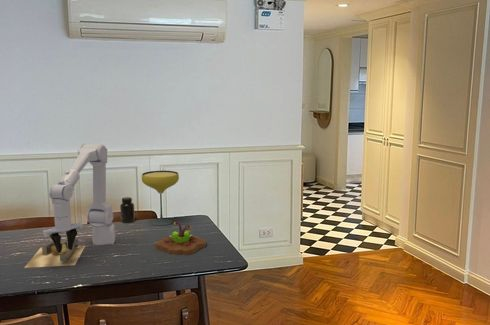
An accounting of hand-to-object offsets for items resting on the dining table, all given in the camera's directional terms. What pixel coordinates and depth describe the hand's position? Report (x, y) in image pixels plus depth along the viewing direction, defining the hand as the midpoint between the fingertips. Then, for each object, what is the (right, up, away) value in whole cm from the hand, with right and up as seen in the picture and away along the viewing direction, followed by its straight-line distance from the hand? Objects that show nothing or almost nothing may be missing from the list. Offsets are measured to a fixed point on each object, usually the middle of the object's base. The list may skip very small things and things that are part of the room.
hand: (64, 250), depth 179 cm
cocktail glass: (+27, +3, +58) cm, 64 cm away
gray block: (-10, -4, +12) cm, 16 cm away
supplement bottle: (+9, +3, +60) cm, 61 cm away
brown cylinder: (-7, -3, +10) cm, 13 cm away
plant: (+41, -3, +23) cm, 47 cm away
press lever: (-1, -3, +9) cm, 9 cm away
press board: (-6, -5, +8) cm, 11 cm away
